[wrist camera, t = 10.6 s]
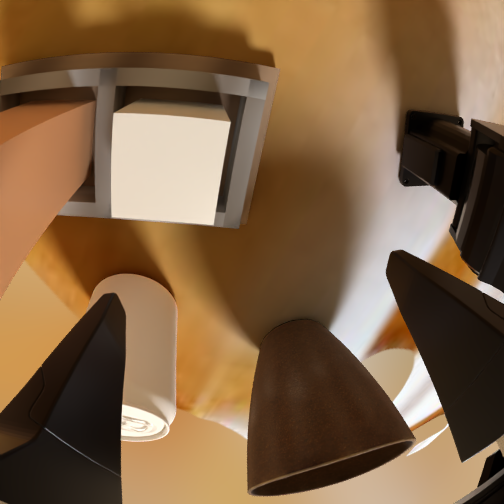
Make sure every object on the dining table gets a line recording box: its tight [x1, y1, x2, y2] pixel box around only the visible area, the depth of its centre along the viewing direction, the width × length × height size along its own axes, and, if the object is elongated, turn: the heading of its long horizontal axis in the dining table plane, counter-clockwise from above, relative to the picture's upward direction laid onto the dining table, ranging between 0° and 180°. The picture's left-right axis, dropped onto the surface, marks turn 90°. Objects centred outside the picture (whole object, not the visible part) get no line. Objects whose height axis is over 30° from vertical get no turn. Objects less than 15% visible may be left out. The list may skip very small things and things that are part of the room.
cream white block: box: [111, 98, 231, 225], centre depth 15 cm, size 5×5×6 cm
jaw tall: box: [0, 100, 96, 299], centre depth 10 cm, size 5×5×13 cm
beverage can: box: [86, 274, 178, 442], centre depth 21 cm, size 8×8×12 cm
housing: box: [0, 52, 280, 229], centre depth 16 cm, size 19×11×4 cm, turn 79°
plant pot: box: [247, 320, 416, 496], centre depth 26 cm, size 15×15×16 cm
